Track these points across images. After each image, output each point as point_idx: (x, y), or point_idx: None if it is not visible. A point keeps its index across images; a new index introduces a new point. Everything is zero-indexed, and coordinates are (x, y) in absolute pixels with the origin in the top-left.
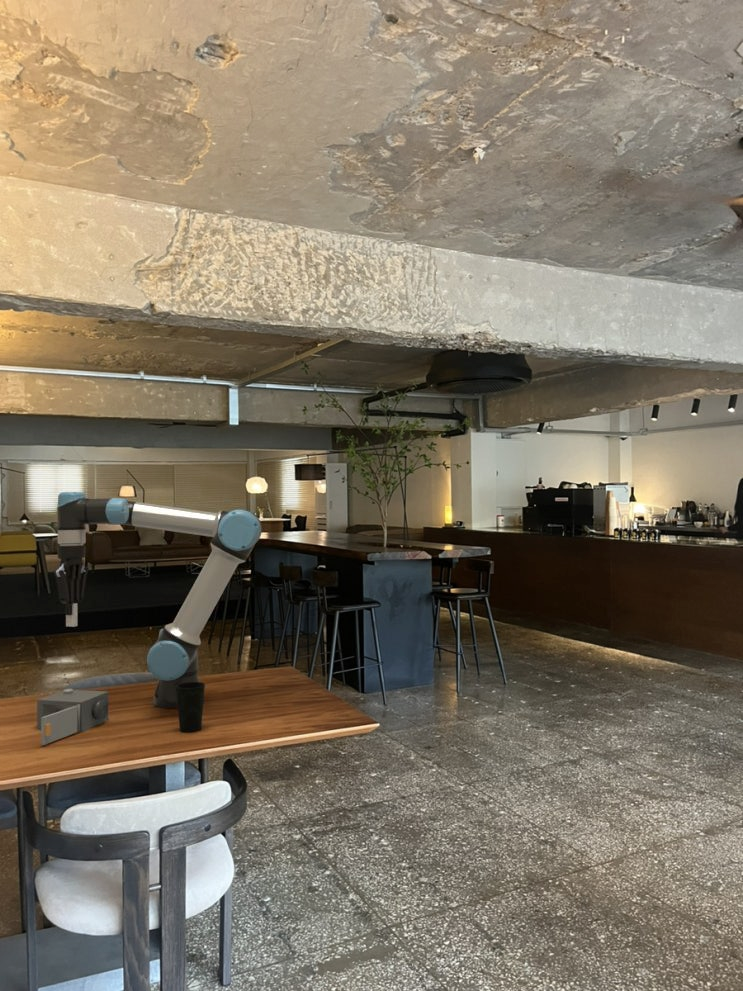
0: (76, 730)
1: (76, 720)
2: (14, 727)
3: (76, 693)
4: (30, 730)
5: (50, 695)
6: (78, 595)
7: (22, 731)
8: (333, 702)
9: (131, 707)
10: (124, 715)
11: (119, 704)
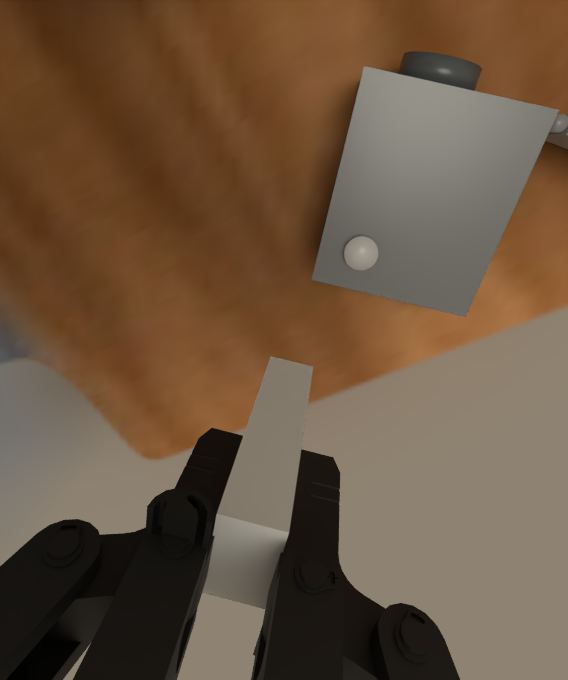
0: None
1: None
2: (412, 351)
3: (383, 208)
4: None
5: (403, 297)
6: (130, 627)
7: None
8: None
9: (191, 61)
10: (300, 38)
11: (157, 132)
